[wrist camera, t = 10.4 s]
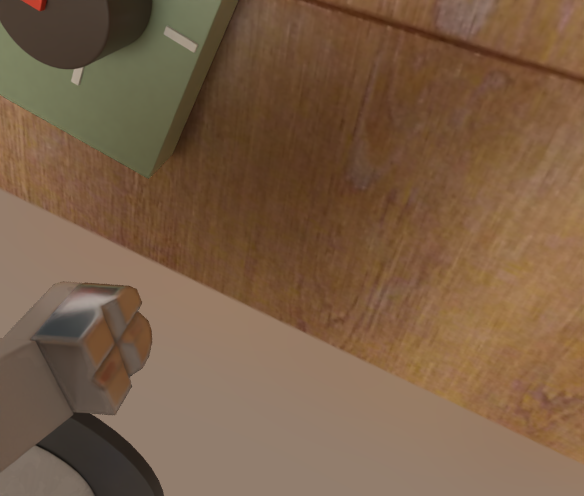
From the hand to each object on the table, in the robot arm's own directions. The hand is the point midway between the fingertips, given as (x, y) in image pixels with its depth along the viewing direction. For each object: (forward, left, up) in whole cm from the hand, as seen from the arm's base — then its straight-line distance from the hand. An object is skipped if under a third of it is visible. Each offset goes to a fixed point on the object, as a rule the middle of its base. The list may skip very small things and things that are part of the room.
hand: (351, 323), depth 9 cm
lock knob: (-3, +12, -14) cm, 18 cm away
